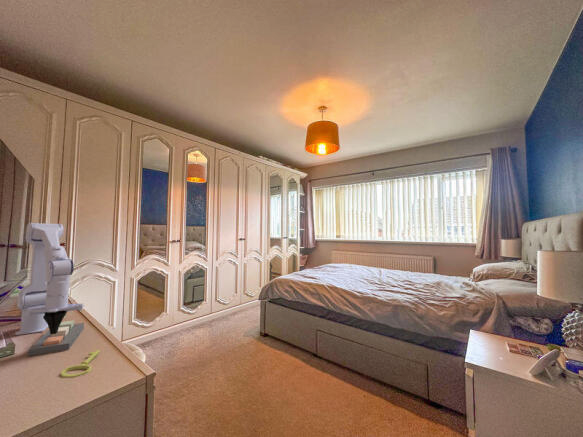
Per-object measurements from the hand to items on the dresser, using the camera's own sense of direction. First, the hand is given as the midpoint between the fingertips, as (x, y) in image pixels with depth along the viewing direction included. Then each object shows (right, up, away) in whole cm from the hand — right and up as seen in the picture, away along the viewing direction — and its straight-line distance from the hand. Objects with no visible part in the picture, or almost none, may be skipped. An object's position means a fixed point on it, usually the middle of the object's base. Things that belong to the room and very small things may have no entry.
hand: (54, 333), depth 83 cm
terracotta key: (0, -4, 0) cm, 4 cm away
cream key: (-3, -4, +5) cm, 7 cm away
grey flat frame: (-3, -5, +5) cm, 8 cm away
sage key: (-7, -4, +11) cm, 13 cm away
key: (+19, -6, -10) cm, 22 cm away
